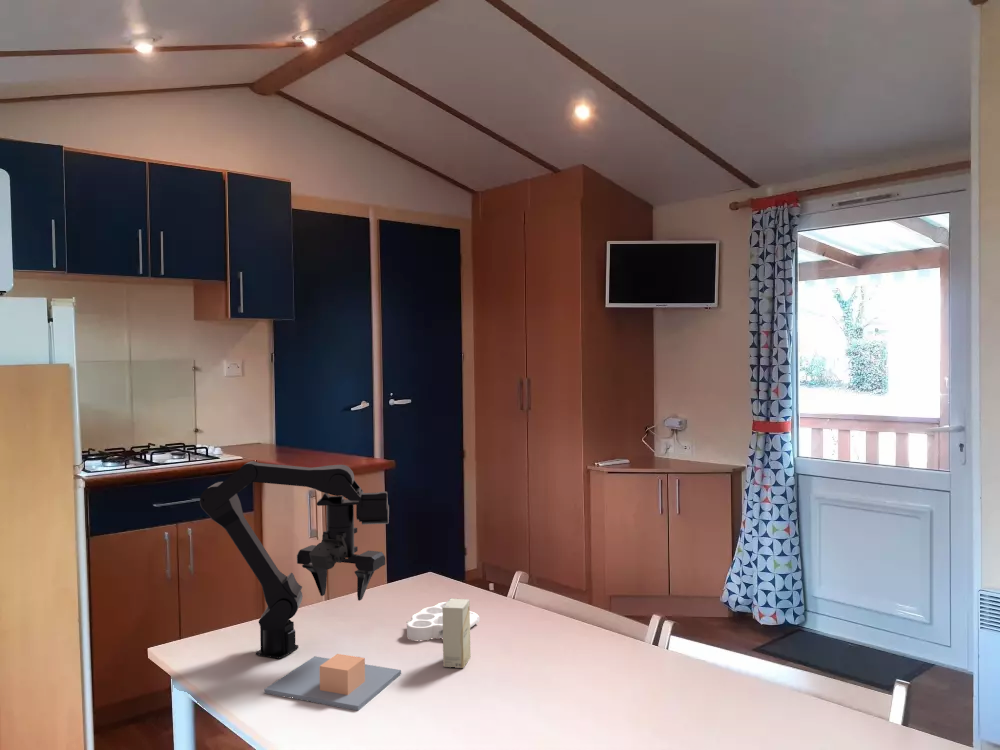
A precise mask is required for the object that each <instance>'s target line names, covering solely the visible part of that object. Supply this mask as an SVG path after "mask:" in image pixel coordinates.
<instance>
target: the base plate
mask: <svg viewBox="0 0 1000 750" xmlns="http://www.w3.org/2000/svg"><path fill="white" fill-rule="evenodd" d="M329 659H330V658H328V657H321V656H317V655H315V656H313V657H311V658H309V659H308V660H306V661H305V662H304V663H302V664H301V665H299V666H297V667H296V668H294V669H293V670H291V671H290V672H288V673H287V674H286V675H284V676H283V677H281V678H279V679H278V680H276V681H275V682H273V683H271V684H270V685H269V686H267V687H265V688H264V694H266V693H267V694H266V695H271V694H273V695H272V696H276V695H278V696H277V697H282V696H285V697H284V698H287V697H291V698H290V699H293V698H295V699H294V700H298V699H302V700H301V701H303V700H308V701H307V702H309V701H311V703H314V702H317V703H316V704H320V703H322V704H321V705H325V704H326V705H325V706H330V707H331V706H332V707H337V708H343V709H347V710H353V711H359V710H361V709H362V708H363V707H364V706H365V705H367V704H368V703H369V702H371V700H372V699H374V698H375V697H376V696H377V695H379V694H380V693H381V692H382V691H383V690H384V689H385V688H387V687H388V686H389V685H391V683H393V682H394V681H395V680H397V678H398V677H400V676H401V675H402V670H401V669H398V668H397V669H396V668H390V667H385V666H377V665H373V664H372V665H371V664H366V663H365V682H364V683H362V684H361V685H360V686H359V687H357V688H356V689H355V690H354V691H352V692H351V693H350V694H349V695H345V694H339V693H333V692H328V691H322V690H320V665H322V664H323V663H325V662H326V661H328V660H329ZM400 674H401V675H400ZM292 697H293V698H292Z"/></svg>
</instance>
